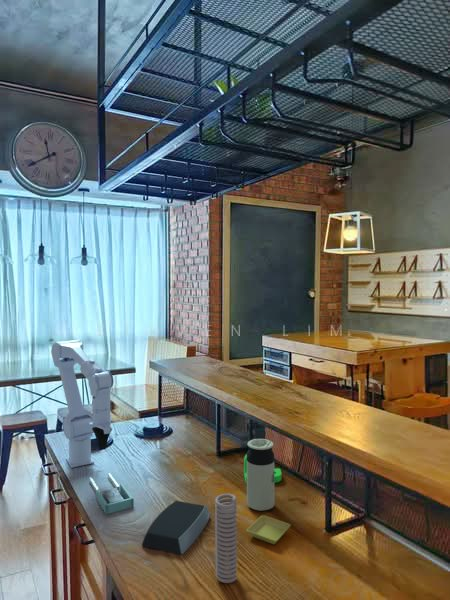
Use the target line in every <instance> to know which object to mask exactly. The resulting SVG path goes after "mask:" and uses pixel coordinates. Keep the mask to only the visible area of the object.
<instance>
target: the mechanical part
mask: <svg viewBox="0 0 450 600" xmlns="http://www.w3.org/2000/svg"><path fill="white" fill-rule="evenodd" d="M243 476H244V480H245V481H244V482H245V484H246V485H247V453H246V454H245V456H244V457H243ZM281 481H282V470H281V468H280V467H279V468H274V484H276V483H279V482H281Z"/></svg>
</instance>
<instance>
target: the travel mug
mask: <svg viewBox="0 0 450 600" xmlns="http://www.w3.org/2000/svg"><path fill="white" fill-rule="evenodd" d="M247 447H248V450H247V452H246V454H247V484H246V505H247V506H248V507H249V508H251V509H253V510H255V511H262V512H263V511H267V510H271V509H273V508H274V506H275V483H274V469H275V453H274V451H273V447H274V442H273V441H271V440H269V439H265V438H254V439H251V440H249V441H248V442H247Z"/></svg>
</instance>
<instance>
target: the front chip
mask: <svg viewBox="0 0 450 600" xmlns="http://www.w3.org/2000/svg"><path fill="white" fill-rule="evenodd" d="M124 499H125V498H124V497H123V495H122V494H121V493H120V494H117V495H113V496H109V497H106V502H107V504H109V503H113V502H117V501H121V500H124Z"/></svg>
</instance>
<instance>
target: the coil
mask: <svg viewBox="0 0 450 600" xmlns="http://www.w3.org/2000/svg"><path fill="white" fill-rule="evenodd" d="M237 505H238V504H237V496H236V495H235V494H233V493H232V494H231V493H222V494H219V495H217V496H216V497H215V500H214V507H215V509H214V512H215V514H214V515H215V516H214V517H215V519H214V520H215V524H214V525H215V527H214V528H215V531H214V532H215V541H214V542H215V577H216V579H217V580H218V581H219V582H222V583H223V584H224V583H225V584H230V583H233V582H235V581H236V580H237V578H238V576H237V573H238V570H237V568H238V565H237V564H238V561H237V559H238V555H237V554H238V552H237V550H238V548H237V546H238V544H237V543H238V542H237V540H238V539H237V536H238V535H237V530H238V529H237V527H238V526H237V523H238V521H237V518H238V517H237V513H238V512H237Z"/></svg>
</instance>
